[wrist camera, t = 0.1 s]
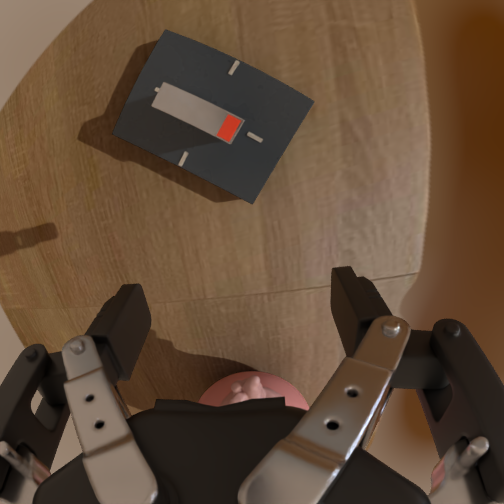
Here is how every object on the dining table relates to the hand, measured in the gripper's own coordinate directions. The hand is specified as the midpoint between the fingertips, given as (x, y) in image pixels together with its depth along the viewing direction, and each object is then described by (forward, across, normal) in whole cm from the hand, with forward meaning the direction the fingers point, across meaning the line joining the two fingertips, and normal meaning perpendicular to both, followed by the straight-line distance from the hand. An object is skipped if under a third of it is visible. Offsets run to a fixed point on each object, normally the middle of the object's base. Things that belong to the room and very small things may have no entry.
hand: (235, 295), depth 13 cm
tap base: (+19, +2, -8) cm, 21 cm away
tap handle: (+17, +2, -8) cm, 18 cm away
